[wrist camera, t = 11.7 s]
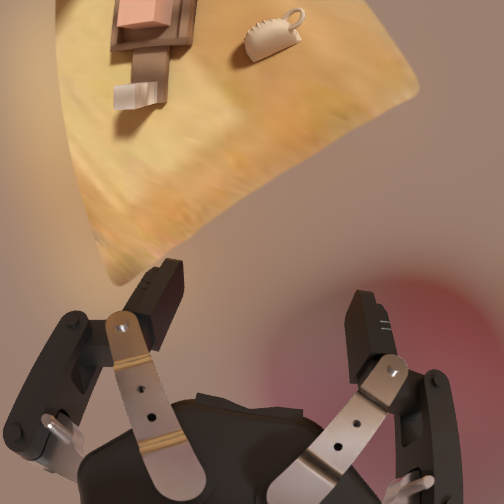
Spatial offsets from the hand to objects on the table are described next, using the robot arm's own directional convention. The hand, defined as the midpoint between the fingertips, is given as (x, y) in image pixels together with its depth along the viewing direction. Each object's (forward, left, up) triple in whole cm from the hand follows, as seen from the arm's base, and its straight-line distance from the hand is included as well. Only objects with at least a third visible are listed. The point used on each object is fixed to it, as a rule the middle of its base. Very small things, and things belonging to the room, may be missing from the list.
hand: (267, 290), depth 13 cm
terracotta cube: (-18, -19, -27) cm, 38 cm away
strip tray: (-14, -19, -28) cm, 36 cm away
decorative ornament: (-14, -3, -28) cm, 32 cm away
